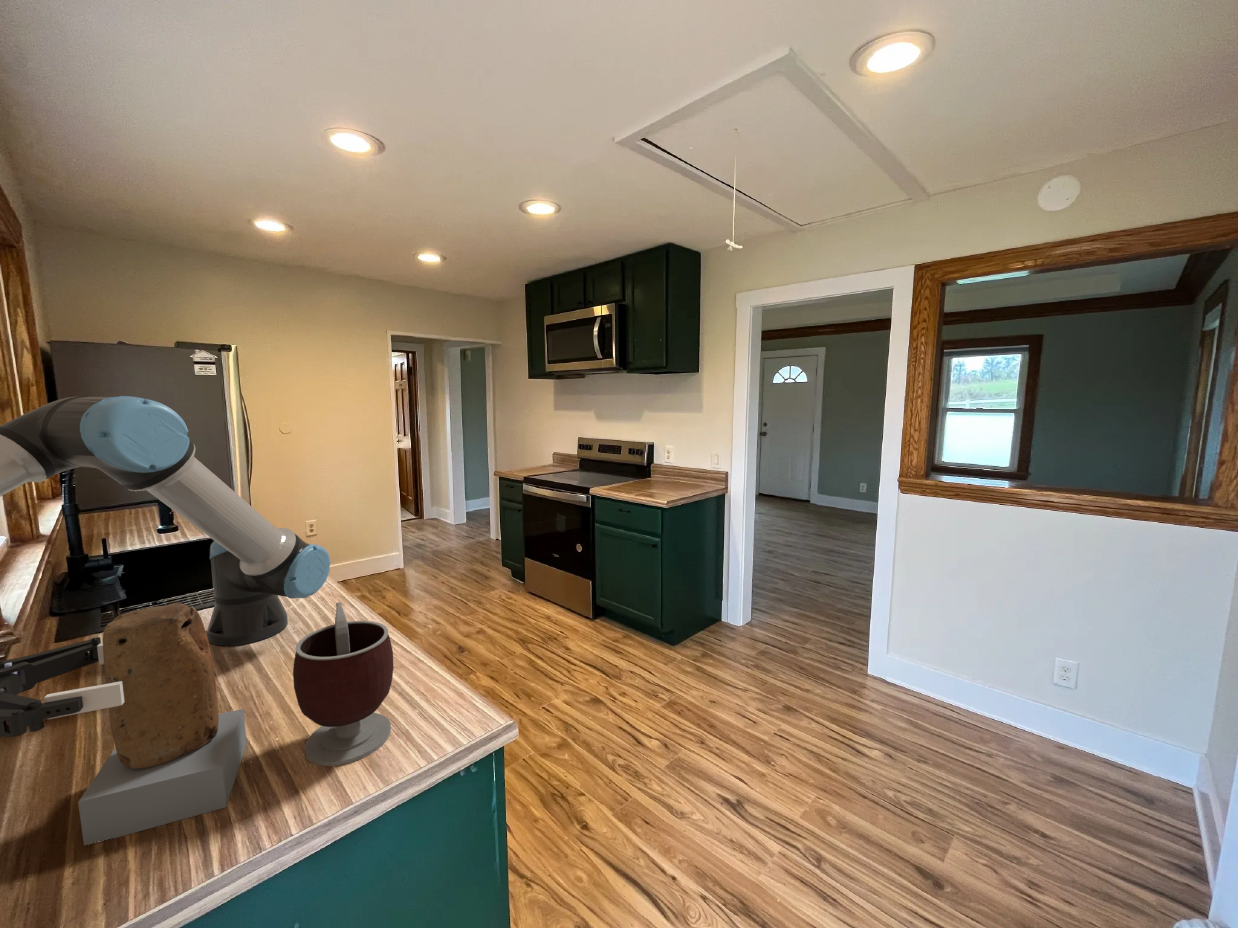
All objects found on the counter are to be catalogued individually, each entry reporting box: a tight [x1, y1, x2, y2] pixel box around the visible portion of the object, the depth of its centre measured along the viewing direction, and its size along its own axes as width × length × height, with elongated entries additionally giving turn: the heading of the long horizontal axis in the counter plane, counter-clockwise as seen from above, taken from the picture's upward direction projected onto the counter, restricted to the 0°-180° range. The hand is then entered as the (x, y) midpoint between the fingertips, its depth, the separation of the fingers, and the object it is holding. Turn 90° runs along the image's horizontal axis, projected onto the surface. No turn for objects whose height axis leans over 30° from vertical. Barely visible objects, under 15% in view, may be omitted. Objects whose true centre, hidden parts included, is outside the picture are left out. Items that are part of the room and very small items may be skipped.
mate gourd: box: [292, 601, 395, 767], centre depth 82 cm, size 16×14×20 cm
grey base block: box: [78, 708, 248, 846], centre depth 71 cm, size 14×14×6 cm
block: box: [102, 602, 220, 769], centre depth 70 cm, size 11×8×20 cm
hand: (143, 666), depth 68 cm, fingers open, 13 cm apart
